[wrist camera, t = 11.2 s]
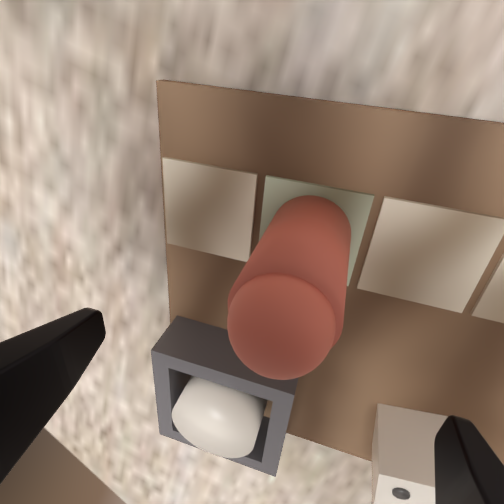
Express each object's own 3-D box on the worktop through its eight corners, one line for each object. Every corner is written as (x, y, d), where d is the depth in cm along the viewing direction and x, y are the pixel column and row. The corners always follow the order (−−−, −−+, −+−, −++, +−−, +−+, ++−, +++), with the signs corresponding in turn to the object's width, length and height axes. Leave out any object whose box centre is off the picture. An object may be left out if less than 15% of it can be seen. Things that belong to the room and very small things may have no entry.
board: (774, 157, 10) (802, 164, 10) (481, 489, 21) (484, 502, 21) (163, 79, 15) (153, 81, 14) (178, 388, 26) (173, 396, 25)
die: (456, 417, 18) (475, 499, 15) (442, 460, 20) (456, 541, 17) (377, 403, 20) (378, 475, 16) (372, 445, 22) (372, 518, 18)
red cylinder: (361, 205, 14) (356, 331, 8) (339, 275, 16) (321, 426, 9) (277, 187, 15) (206, 289, 8) (266, 256, 17) (201, 385, 10)
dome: (274, 367, 20) (258, 417, 17) (265, 417, 23) (250, 468, 20) (196, 343, 21) (169, 387, 18) (196, 394, 24) (173, 440, 21)
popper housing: (304, 351, 19) (294, 395, 17) (285, 432, 24) (275, 476, 21) (176, 315, 21) (150, 350, 19) (180, 396, 25) (159, 434, 23)
